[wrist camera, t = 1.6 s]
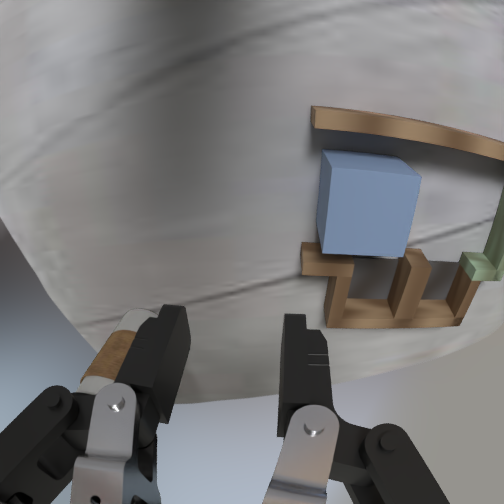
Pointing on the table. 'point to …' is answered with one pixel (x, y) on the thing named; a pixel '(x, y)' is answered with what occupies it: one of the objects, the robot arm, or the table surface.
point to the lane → (413, 262)
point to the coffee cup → (112, 353)
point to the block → (365, 203)
